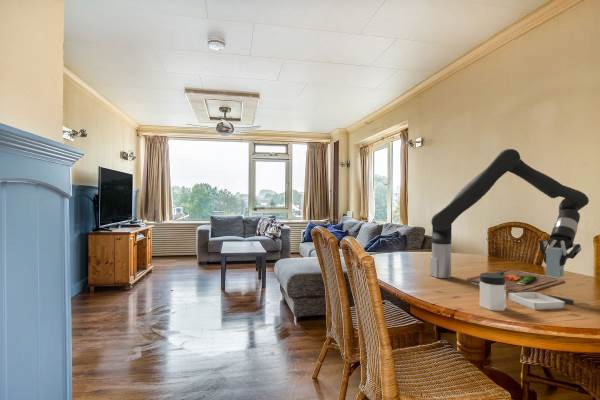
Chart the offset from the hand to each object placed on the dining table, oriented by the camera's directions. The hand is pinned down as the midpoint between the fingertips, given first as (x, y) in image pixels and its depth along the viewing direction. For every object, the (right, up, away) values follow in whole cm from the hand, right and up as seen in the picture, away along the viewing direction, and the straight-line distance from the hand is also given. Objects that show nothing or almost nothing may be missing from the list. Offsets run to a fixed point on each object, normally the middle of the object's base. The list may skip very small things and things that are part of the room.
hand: (553, 263), depth 126 cm
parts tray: (-9, -15, -2) cm, 18 cm away
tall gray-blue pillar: (+2, -5, +1) cm, 5 cm away
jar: (-28, -15, -6) cm, 32 cm away
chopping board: (+6, -15, +31) cm, 35 cm away
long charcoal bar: (+2, -15, +1) cm, 15 cm away
